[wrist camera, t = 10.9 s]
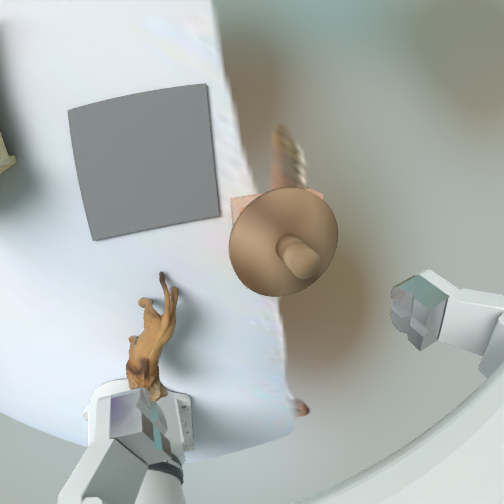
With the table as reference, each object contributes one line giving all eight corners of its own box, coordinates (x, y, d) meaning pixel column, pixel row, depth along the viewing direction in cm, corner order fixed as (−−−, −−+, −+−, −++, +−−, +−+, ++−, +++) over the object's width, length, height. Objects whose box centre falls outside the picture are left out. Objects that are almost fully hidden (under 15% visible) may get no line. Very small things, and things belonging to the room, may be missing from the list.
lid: (280, 308, 36) (298, 336, 31) (204, 252, 30) (214, 278, 25) (350, 235, 34) (378, 254, 30) (288, 162, 28) (314, 172, 24)
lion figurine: (162, 364, 39) (169, 415, 31) (125, 359, 37) (124, 411, 29) (182, 272, 34) (192, 319, 26) (137, 264, 32) (133, 311, 24)
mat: (218, 214, 32) (219, 215, 32) (93, 239, 29) (92, 240, 29) (205, 83, 26) (206, 83, 26) (68, 110, 23) (67, 110, 23)
